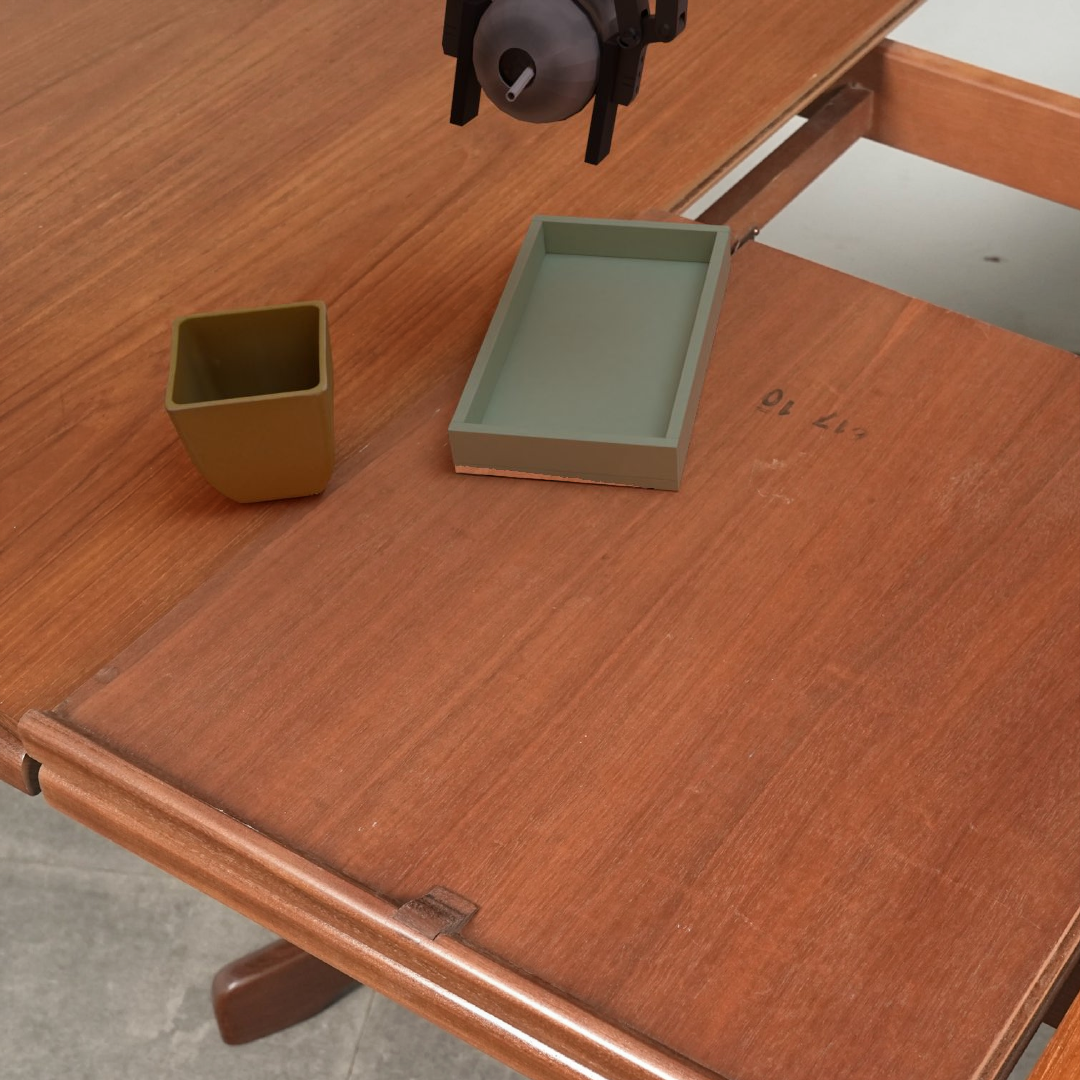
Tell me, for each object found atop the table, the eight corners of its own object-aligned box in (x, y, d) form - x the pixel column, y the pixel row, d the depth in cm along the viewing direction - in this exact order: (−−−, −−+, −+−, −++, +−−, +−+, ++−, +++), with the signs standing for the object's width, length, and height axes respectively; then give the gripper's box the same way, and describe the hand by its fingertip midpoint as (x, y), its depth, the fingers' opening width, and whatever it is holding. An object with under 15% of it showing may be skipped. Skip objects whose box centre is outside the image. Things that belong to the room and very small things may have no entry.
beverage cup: (554, -68, 92) (433, -12, 75) (669, -27, 91) (572, 39, 75) (528, 55, 96) (408, 134, 80) (638, 96, 96) (540, 183, 79)
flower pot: (357, 514, 91) (326, 389, 84) (205, 533, 90) (162, 408, 83) (354, 421, 96) (325, 298, 90) (212, 438, 96) (172, 315, 89)
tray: (678, 491, 91) (676, 447, 89) (454, 473, 93) (447, 429, 90) (730, 268, 107) (730, 225, 104) (538, 256, 108) (533, 213, 106)
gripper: (813, -286, 77) (713, 169, 90) (429, -389, 78) (387, 75, 91) (787, -281, 70) (685, 206, 84) (371, -393, 72) (336, 105, 85)
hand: (530, 137), depth 87 cm, fingers closed on beverage cup, 7 cm apart
